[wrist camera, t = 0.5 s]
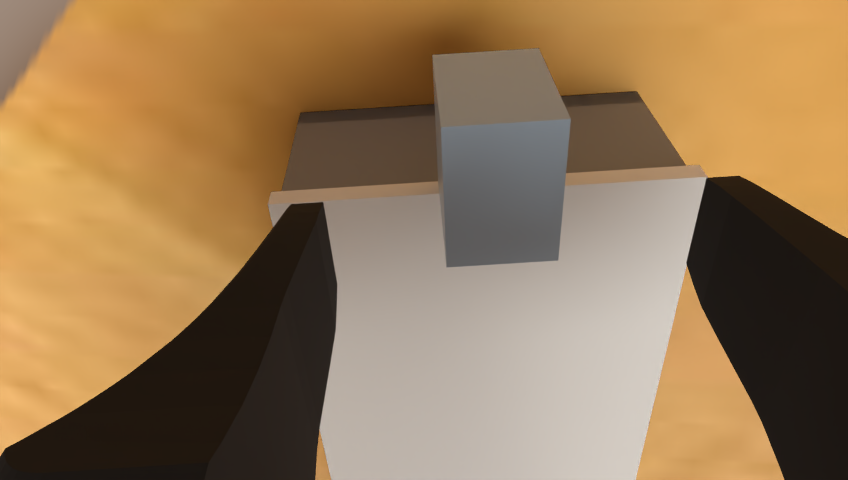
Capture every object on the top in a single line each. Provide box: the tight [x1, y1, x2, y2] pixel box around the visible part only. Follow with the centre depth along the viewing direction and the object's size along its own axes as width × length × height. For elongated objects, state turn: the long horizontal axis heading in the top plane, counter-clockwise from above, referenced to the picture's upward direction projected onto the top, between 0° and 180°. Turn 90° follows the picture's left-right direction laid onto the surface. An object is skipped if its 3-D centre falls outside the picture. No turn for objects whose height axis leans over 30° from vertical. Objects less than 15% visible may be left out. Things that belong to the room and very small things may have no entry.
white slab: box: [268, 48, 707, 480], centre depth 20 cm, size 18×11×4 cm, turn 3°
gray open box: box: [282, 91, 686, 191], centre depth 24 cm, size 14×11×5 cm
